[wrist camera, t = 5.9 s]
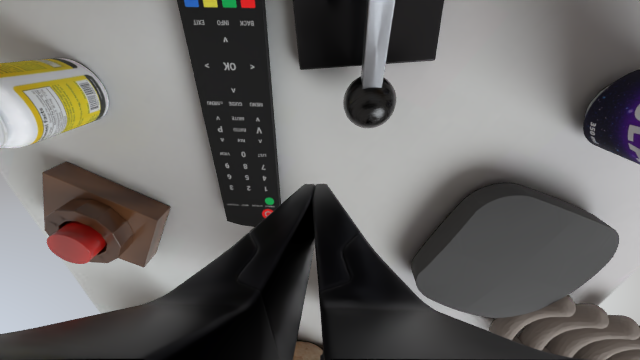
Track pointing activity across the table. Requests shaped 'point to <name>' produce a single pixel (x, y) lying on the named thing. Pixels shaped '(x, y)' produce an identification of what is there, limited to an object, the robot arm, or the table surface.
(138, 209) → the button block
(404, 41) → the bracket
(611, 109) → the beverage can
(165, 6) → the table surface
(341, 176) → the table surface
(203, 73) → the remote control
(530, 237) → the media streaming box
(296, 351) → the crumpled paper bag
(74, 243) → the button
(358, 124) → the lever
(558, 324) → the rake
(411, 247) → the table surface
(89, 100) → the supplement bottle
